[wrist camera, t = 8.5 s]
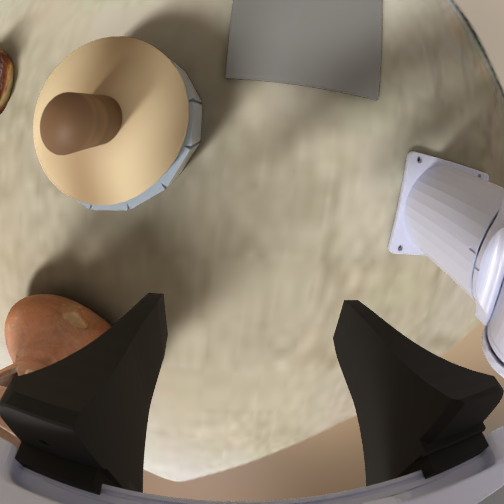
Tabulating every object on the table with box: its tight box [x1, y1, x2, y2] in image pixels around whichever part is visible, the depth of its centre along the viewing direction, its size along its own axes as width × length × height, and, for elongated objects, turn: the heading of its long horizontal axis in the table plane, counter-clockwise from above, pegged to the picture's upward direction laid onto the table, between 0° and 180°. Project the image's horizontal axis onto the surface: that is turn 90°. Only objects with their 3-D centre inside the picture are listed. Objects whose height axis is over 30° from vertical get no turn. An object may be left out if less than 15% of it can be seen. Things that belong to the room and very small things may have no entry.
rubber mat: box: [225, 0, 382, 100], centre depth 14 cm, size 10×10×1 cm
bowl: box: [61, 57, 203, 211], centre depth 15 cm, size 9×9×4 cm
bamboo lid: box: [33, 36, 189, 205], centre depth 11 cm, size 9×9×4 cm
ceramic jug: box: [0, 294, 112, 448], centre depth 18 cm, size 18×14×14 cm
